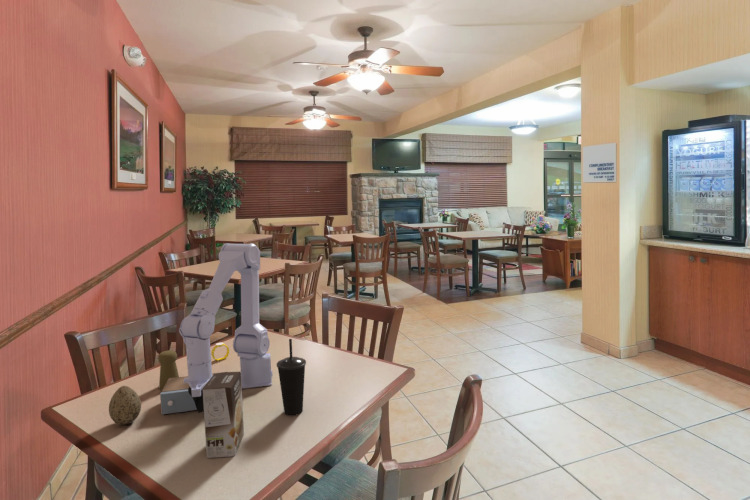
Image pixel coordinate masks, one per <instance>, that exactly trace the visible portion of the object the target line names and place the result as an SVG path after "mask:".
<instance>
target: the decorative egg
mask: <svg viewBox="0 0 750 500" xmlns="http://www.w3.org/2000/svg"><path fill="white" fill-rule="evenodd" d="M141 409H142V402H141V398H140V395H139V394H138V393H137V392H136V391H135V390H134V389H132V387H130V386H127V385H122V386H120V387H118V389H117V390H115V392H114V393H113V394H112V397H111V398H110V401H109V404H108V414H109V417H110V419H111V420H112V421H113V422H114V423H116V424H117V425H121V426H122V425H129V424H131V423H133V422H135V421H136V419H138V417H139V415H140V413H141V411H142V410H141Z"/></svg>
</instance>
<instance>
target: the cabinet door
mask: <svg viewBox="0 0 750 500" xmlns="http://www.w3.org/2000/svg"><path fill="white" fill-rule="evenodd" d="M159 396H160V397H159V398H160V408H161V409H160V410H161V415H166V414H167V415H168V414H169V415H170V414H174V413H183V412H189V411H190V412H191V411H192V412H193V411H197V408H196V405H195V402H194V400H193V398H192V397H191V395H190V394H189V392H188V389H185V390H177V391H168V392H162V391H161V392H160V394H159Z"/></svg>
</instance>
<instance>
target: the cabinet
mask: <svg viewBox="0 0 750 500" xmlns="http://www.w3.org/2000/svg"><path fill="white" fill-rule="evenodd" d="M223 372H224V371H223ZM223 372H220V373H223ZM214 373H215V372H212V375H214ZM187 377H188V375H186V376H179V377H176V378H169V379H168V381H167V383H166V385H165V386H164V388H163V390H161V392H168V391H177V390H185V389H189V387H190V386H189V384H188V383H184V382H183V380H184V378H187Z"/></svg>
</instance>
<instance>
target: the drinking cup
mask: <svg viewBox="0 0 750 500" xmlns="http://www.w3.org/2000/svg"><path fill="white" fill-rule="evenodd" d="M292 341H293V339H292V338H289V339H288V343H289V344H288V346H289V356H288V357H285V358H282V359H280V360H278V361H277V363H276V367H277V370H278V371H277V372H278V376H279V377H278V379H279V385H280V392H281V397H282V398H281V399H282V405H283V413H284V414H285V415H286V416H288V417H293V416H299V415H301V414H302V413H303V411H304V409H303V408H304V393H305V392H304V391H305V390H304V389H305V373H306V372H305V371H306V369H305V368H306V365H307V360H306V359H305V358H303V357H298V356H293V342H292Z"/></svg>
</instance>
